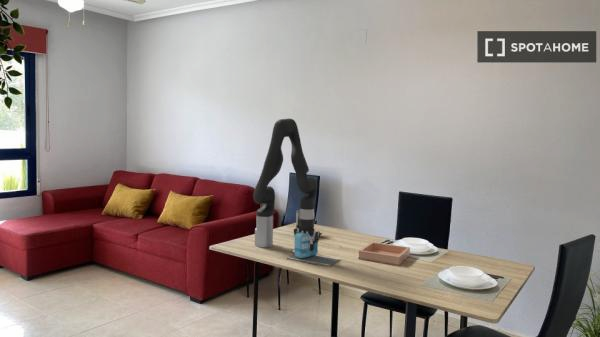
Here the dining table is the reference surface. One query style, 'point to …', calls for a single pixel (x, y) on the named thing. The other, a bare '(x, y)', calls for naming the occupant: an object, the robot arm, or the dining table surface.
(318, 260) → the mat
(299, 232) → the milk frother
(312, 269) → the dining table surface
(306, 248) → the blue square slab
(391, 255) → the planter saucer
